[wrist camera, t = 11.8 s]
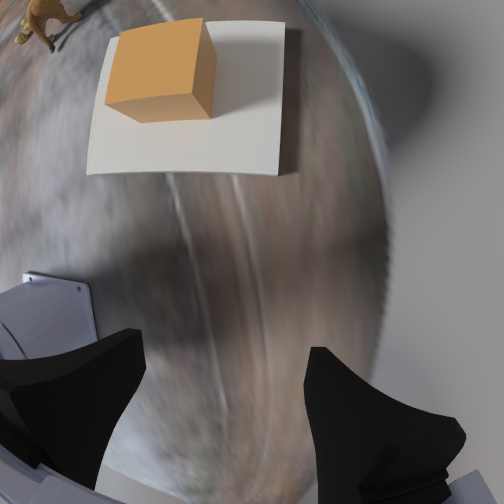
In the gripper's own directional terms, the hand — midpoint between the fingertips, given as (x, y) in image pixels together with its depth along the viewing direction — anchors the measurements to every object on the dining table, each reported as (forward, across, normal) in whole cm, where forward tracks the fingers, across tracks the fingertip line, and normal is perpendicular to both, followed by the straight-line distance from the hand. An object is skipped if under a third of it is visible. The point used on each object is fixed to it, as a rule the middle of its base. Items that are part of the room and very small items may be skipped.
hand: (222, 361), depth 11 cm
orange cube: (+8, +5, -14) cm, 17 cm away
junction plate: (+9, +5, -14) cm, 18 cm away
